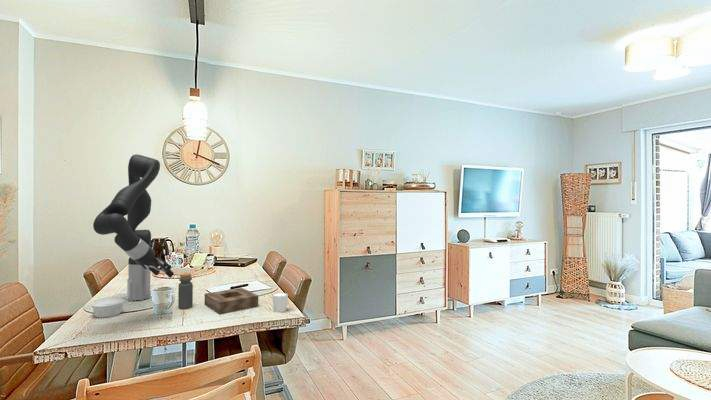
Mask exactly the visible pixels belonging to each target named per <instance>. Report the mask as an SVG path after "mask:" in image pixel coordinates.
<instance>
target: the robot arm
mask: <svg viewBox="0 0 711 400" xmlns="http://www.w3.org/2000/svg"><path fill="white" fill-rule="evenodd" d="M160 168H161V163H160V161H159V160H158V159H156V158H153V157H150V156H145V155H142V154H137V153H136V154H132V155H131V157H130V158H129V161H128V166H127V178H128V185H127V186H125V187H122V188H121V189H120V190H119V191H118V192H116V194H115V196H114V197H113V199H112V200H111V202H110V204H109V205H107V207H105V208H104V209H103V210H101V212H100V213H99V214H98V215H97V216H96V217H95V219H94V221H93V225H92V226H93V230H94V232H96V233H97V234H99V235H101V236H102V235H109V234H115V237H114V243H115V245H117V246H118V247H119V248H120V249H121V250H123V252H124V253H125V254H126V255H127V256H128V257H129V258H128V266H127V267H128V269H127V271H128V274H127V275H128V278H127V280H126V281H127V285H126V287H127V288H126V289H127V291H126V293H127V296H126V297H127V298H128V299H127V300H128V301H129V302H132V301H133V300H134V301H133V302H137V301H136V300H140V301H144V299H145V300H148V299H150V298H151V273H152V274H153V275H155V276H158V275H159V274H160V272H163V273H164V274H165V275H166V276H167V277H169V278H173V276H174V274H175V273H174V271H172V270H171V268H172V266H171V265H170V264H169V263H168V262H166V260H164V259H163V258H158V257H156V251H155V250H154V249H153V248H152V247H151V246H152V245H151V244H152V233H151V231H150V230H149V229H137V228H138V226H139V225H140V224H141V223H143V222H144V221H145V220H146V219H147V218H148V216H150V213H151V211H152V210H151V209H152V197H151V195H150V193H149V192H148V191H147V188H149V186H150V185H151V184H152V183H153V182H154V181H155V179H156V178H157V176H158V175H159V174H160V173H159V172H160ZM125 216H126V217H127V218H126V217H125ZM147 298H148V299H147Z"/></svg>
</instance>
